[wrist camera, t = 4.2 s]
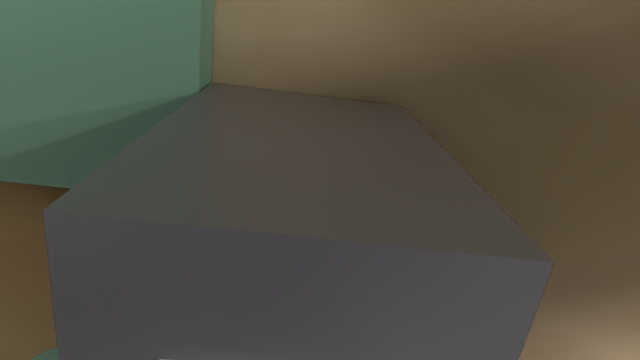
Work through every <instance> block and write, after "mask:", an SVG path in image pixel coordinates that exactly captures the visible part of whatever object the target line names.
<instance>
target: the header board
mask: <svg viewBox="0 0 640 360" xmlns="http://www.w3.org/2000/svg"><path fill="white" fill-rule="evenodd" d="M213 26H214V0H0V181H3V182H12V183H22V184H32V185H42V186H51V187H61V188H73V187H74V186H75V185H77V184H78V183H79V182H81V181H82V180H83V179H85V178H86V177H87V176H89V175H90V174H91V173H93V172H94V171H95V170H97V169H98V168H99V167H101V166H102V165H103V164H105V163H106V162H107V161H109V160H110V159H111V158H112V157H114V156H115V155H116V154H118V153H119V152H120V151H122V150H123V149H124V148H126V147H127V146H128V145H130V144H131V143H132V142H134V141H135V140H136V139H138V138H139V137H140V136H142V135H143V134H144V133H146V132H147V131H148V130H150V129H151V128H152V127H154V126H155V125H156V124H158V123H159V122H160V121H162V120H163V119H164V118H166V117H167V116H168V115H170V114H171V113H172V112H174V111H175V110H176V109H178V108H179V107H180V106H182V105H183V104H184V103H186V102H187V101H188V100H190V99H191V98H192V97H194V96H195V95H196V94H198V93H199V92H200V91H202V90H203V89H204V88H206V87H207V86H208V85H210V84H211V80H212V53H213Z"/></svg>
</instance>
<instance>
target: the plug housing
mask: <svg viewBox="0 0 640 360" xmlns="http://www.w3.org/2000/svg"><path fill="white" fill-rule="evenodd" d="M43 215H44V224H45V234H46V243H47V253H48V262H49V272H50V282H51V291H52V301H53V310H54V320H55V329H56V339H57V348H58V358H59V360H518V359H519V357H520V354H521V351H522V349H523V346H524V343H525V340H526V338H527V335H528V332H529V330H530V327H531V324H532V321H533V319H534V316H535V313H536V311H537V308H538V305H539V302H540V300H541V297H542V294H543V292H544V289H545V286H546V283H547V281H548V278H549V275H550V272H551V270H552V267H553V264H554V262H553V261H552V260H551V259H550V258H549V257H548V256H547V255H546V253H545V252H544V251H543V250H542V249H541V248H540V247H539V246H538V245H537V244H536V243H535V242H534V241H533V240H532V239H531V238H530V237H529V236H528V235H527V234H526V233H525V232H524V231H523V230H522V229H521V228H520V227H519V226H518V225H517V224H516V223H515V222H514V221H513V220H512V218H511V217H510V216H509V215H508V214H507V213H506V212H505V211H504V210H503V209H502V208H501V207H500V206H499V205H498V204H497V203H496V202H495V201H494V200H493V199H492V198H491V197H490V196H489V195H488V194H487V193H486V192H485V191H484V190H483V189H482V188H481V187H480V186H479V184H478V183H477V182H476V181H475V180H474V179H473V178H472V177H471V176H470V175H469V174H468V173H467V172H466V171H465V170H464V169H463V168H462V167H461V166H460V165H459V164H458V163H457V162H456V161H455V160H454V159H453V158H452V157H451V156H450V155H449V154H448V153H447V152H446V151H445V149H444V148H443V147H442V146H441V145H440V144H439V143H438V142H437V141H436V140H435V139H434V138H433V137H432V136H431V135H430V134H429V133H428V132H427V131H426V130H425V129H424V128H423V127H422V126H421V125H420V124H419V123H418V122H417V121H416V120H415V119H414V118H413V117H412V116H411V114H410V113H409V112H408V111H407V110H406V109H405V108H404V107H403V106H396V105H388V104H380V103H372V102H364V101H356V100H348V99H340V98H332V97H324V96H316V95H309V94H301V93H293V92H285V91H277V90H269V89H261V88H253V87H245V86H237V85H229V84H221V83H213V82H212V83H211V84H210V85H208V86H207V87H206V88H204V89H203V90H202V91H200V92H199V93H198V94H196V95H195V96H194V97H192V98H191V99H190V100H188V101H187V102H186V103H184V104H183V105H182V106H180V107H179V108H178V109H176V110H175V111H174V112H172V113H171V114H170V115H168V116H167V117H166V118H164V119H163V120H162V121H160V122H159V123H158V124H156V125H155V126H154V127H152V128H151V129H150V130H148V131H147V132H146V133H144V134H143V135H142V136H140V137H139V138H138V139H136V140H135V141H134V142H132V143H131V144H130V145H128V146H127V147H126V148H124V149H123V150H122V151H120V152H119V153H118V154H116V155H115V156H114V157H112V158H111V159H110V160H109V161H107V162H106V163H105V164H103V165H102V166H101V167H99V168H98V169H97V170H95V171H94V172H93V173H91V174H90V175H89V176H87V177H86V178H85V179H83V180H82V181H81V182H79V183H78V184H77V185H75V186H74V187H73V188H71V189H70V190H69V191H67V192H66V193H65V194H63V195H62V196H61V197H59V198H58V199H57V200H55V201H54V202H53V203H51V204H50V205H49V206H47V207H46V208H45V209H43Z"/></svg>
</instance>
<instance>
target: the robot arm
mask: <svg viewBox="0 0 640 360" xmlns="http://www.w3.org/2000/svg"><path fill="white" fill-rule="evenodd" d="M31 360H59V358H58V348H57V347H56V348H53V349H51V350H48V351H46V352H44V353H41V354H39V355H38V356H36V357H34V358H33V359H31Z"/></svg>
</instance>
